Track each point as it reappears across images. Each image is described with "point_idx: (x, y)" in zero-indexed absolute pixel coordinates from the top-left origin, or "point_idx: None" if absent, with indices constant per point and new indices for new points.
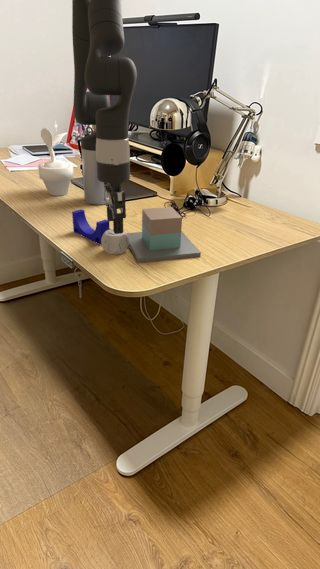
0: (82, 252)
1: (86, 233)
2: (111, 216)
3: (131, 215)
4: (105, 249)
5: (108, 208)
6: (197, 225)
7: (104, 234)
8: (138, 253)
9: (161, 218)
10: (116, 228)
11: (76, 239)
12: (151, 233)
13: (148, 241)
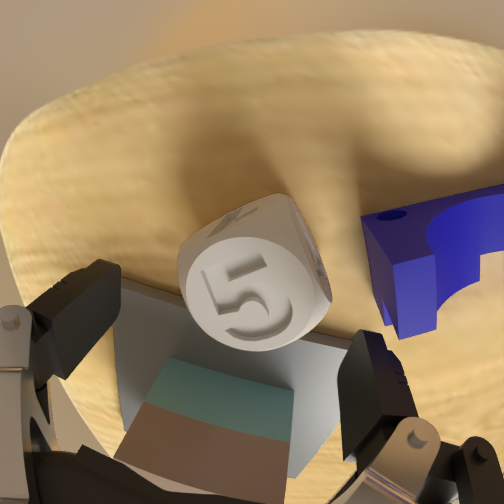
0: (317, 91)
1: (477, 197)
2: (354, 373)
3: (492, 416)
4: (258, 200)
5: (376, 412)
6: (308, 498)
7: (261, 228)
8: (153, 309)
9: None
10: (61, 281)
11: (474, 140)
12: (141, 410)
13: (183, 382)
